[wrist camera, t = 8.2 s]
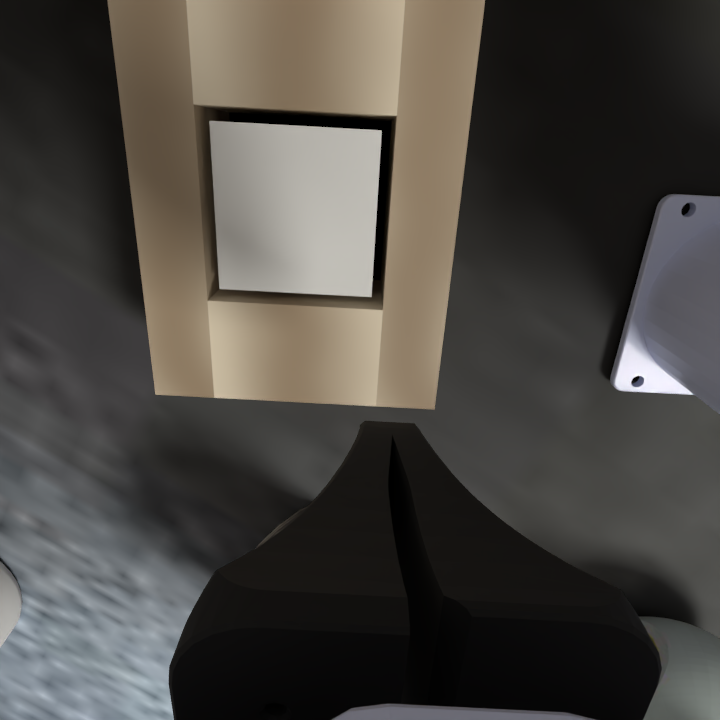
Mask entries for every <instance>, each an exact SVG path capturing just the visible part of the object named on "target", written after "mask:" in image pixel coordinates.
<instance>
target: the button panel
mask: <svg viewBox="0 0 720 720" xmlns="http://www.w3.org/2000/svg"><path fill="white" fill-rule="evenodd" d="M484 6H485V0H108V9H109V17H110V25H111V33H112V41H113V50H114V58H115V66H116V74H117V82H118V91H119V99H120V107H121V115H122V123H123V132H124V140H125V148H126V156H127V164H128V173H129V181H130V189H131V197H132V205H133V213H134V222H135V230H136V238H137V246H138V254H139V263H140V271H141V279H142V287H143V295H144V304H145V312H146V320H147V328H148V336H149V345H150V353H151V361H152V369H153V377H154V386H155V394H156V395H173V396H192V397H211V398H230V399H249V400H268V401H287V402H306V403H324V404H343V405H362V406H381V407H400V408H419V409H435V400H436V392H437V384H438V376H439V368H440V360H441V352H442V344H443V336H444V328H445V320H446V312H447V304H448V296H449V288H450V280H451V272H452V264H453V255H454V247H455V239H456V231H457V223H458V215H459V207H460V199H461V191H462V183H463V175H464V167H465V159H466V151H467V143H468V135H469V127H470V119H471V110H472V102H473V94H474V86H475V78H476V70H477V62H478V54H479V46H480V38H481V30H482V22H483V14H484ZM229 112H230V113H248V114H266V115H284V116H302V117H319V118H337V119H355V120H373V121H391V132H390V147H389V161H388V176H387V191H386V205H385V220H384V235H383V249H382V264H381V278H380V280H373V282H372V297H359V296H340V295H322V294H303V293H285V292H266V291H248V290H229V289H219V273H218V256H217V240H216V223H215V207H214V190H213V174H212V157H211V141H210V124H209V121H223V122H230V116H229Z"/></svg>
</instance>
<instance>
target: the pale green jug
mask: <svg viewBox="0 0 720 720" xmlns="http://www.w3.org/2000/svg"><path fill="white" fill-rule="evenodd" d="M639 618H640V620H641V622H642V623H643V625H644V627H645V628H646V630H647V632H648V634H649V636H650V638H651V639H652V641H653V643H654V645H655V646H656V648H657V650H658V652H659V655H660V660H661V666H662V671H661V675H660V679H659V684H658V686H657V689H656V691H655V693H654V696H653V698H652V701H651V703H650V705H649V708H648V710H647V712H646V715H645V717H644V719H643V720H720V639H719V638H717V637H716V636H714V635H713V634H711V633H709V632H707V631H705V630H703V629H701V628H698V627H696V626H693V625H691V624H688V623H685V622H681V621H677V620H673V619H668V618H660V617H639Z"/></svg>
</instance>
